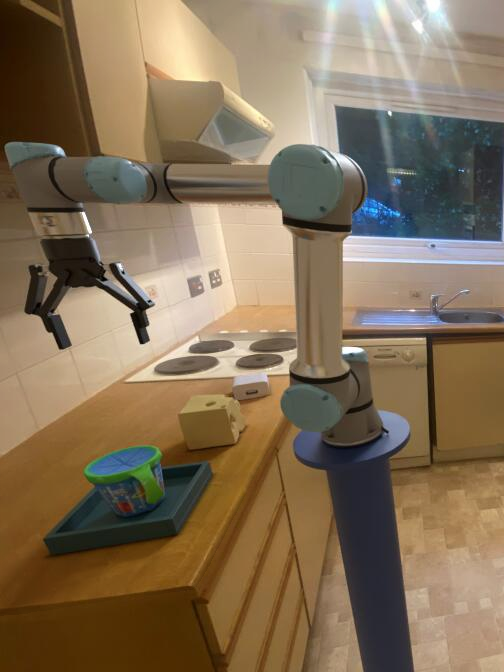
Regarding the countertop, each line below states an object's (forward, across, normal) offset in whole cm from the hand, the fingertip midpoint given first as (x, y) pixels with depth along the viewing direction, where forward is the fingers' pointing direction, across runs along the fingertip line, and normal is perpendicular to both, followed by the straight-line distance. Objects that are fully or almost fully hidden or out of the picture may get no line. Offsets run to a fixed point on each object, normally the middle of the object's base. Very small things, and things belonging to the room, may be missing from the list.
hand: (106, 345), depth 89 cm
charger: (+27, +14, +37) cm, 48 cm away
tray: (+27, +8, -22) cm, 36 cm away
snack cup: (+26, +8, -22) cm, 35 cm away
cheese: (+27, +13, +5) cm, 30 cm away
